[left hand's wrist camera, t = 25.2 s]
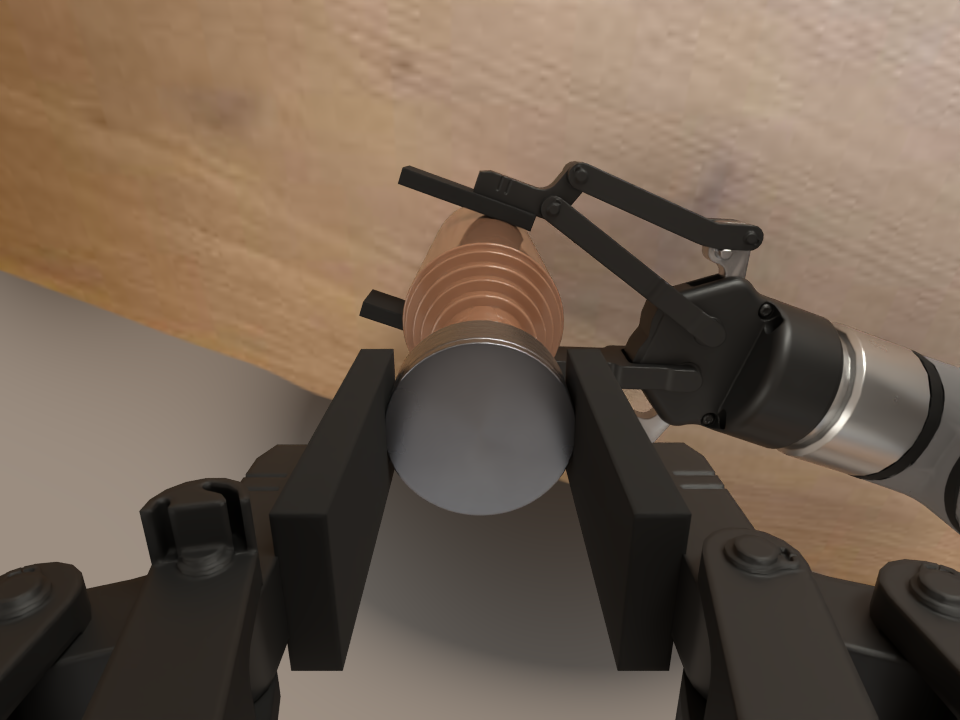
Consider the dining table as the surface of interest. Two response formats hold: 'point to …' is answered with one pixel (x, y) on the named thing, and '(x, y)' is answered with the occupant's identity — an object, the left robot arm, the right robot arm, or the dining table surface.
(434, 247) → the bottle
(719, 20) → the dining table surface
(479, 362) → the cap
